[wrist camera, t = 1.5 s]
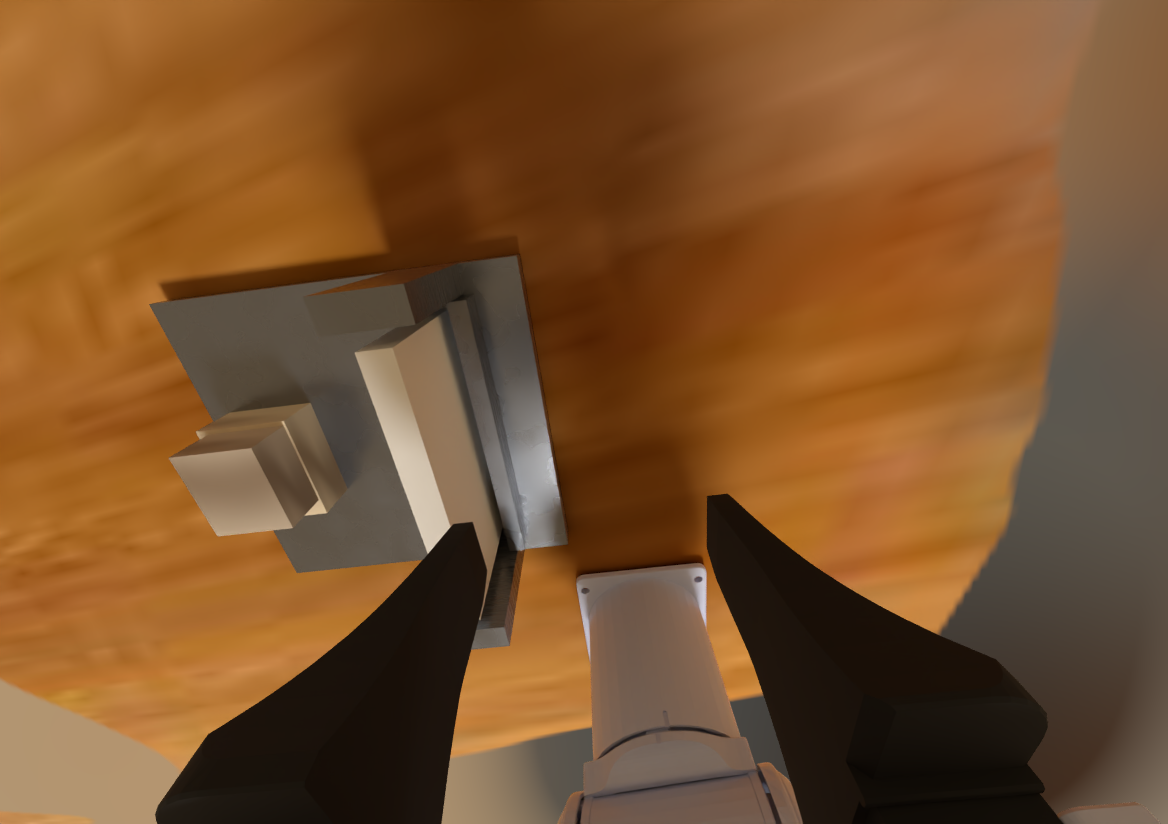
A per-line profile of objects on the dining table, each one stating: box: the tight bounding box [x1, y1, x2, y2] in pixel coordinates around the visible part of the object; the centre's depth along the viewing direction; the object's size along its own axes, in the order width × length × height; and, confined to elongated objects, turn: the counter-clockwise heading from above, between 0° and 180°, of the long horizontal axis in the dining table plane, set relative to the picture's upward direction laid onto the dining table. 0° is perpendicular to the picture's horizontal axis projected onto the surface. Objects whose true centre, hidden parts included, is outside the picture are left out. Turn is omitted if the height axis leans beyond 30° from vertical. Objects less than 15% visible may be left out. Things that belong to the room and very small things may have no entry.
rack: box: [149, 254, 568, 650], centre depth 19 cm, size 16×16×7 cm
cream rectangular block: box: [355, 309, 503, 620], centre depth 18 cm, size 12×1×6 cm, turn 7°
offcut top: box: [169, 425, 319, 536], centre depth 18 cm, size 4×3×2 cm
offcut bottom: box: [196, 403, 347, 516], centre depth 20 cm, size 5×4×2 cm
